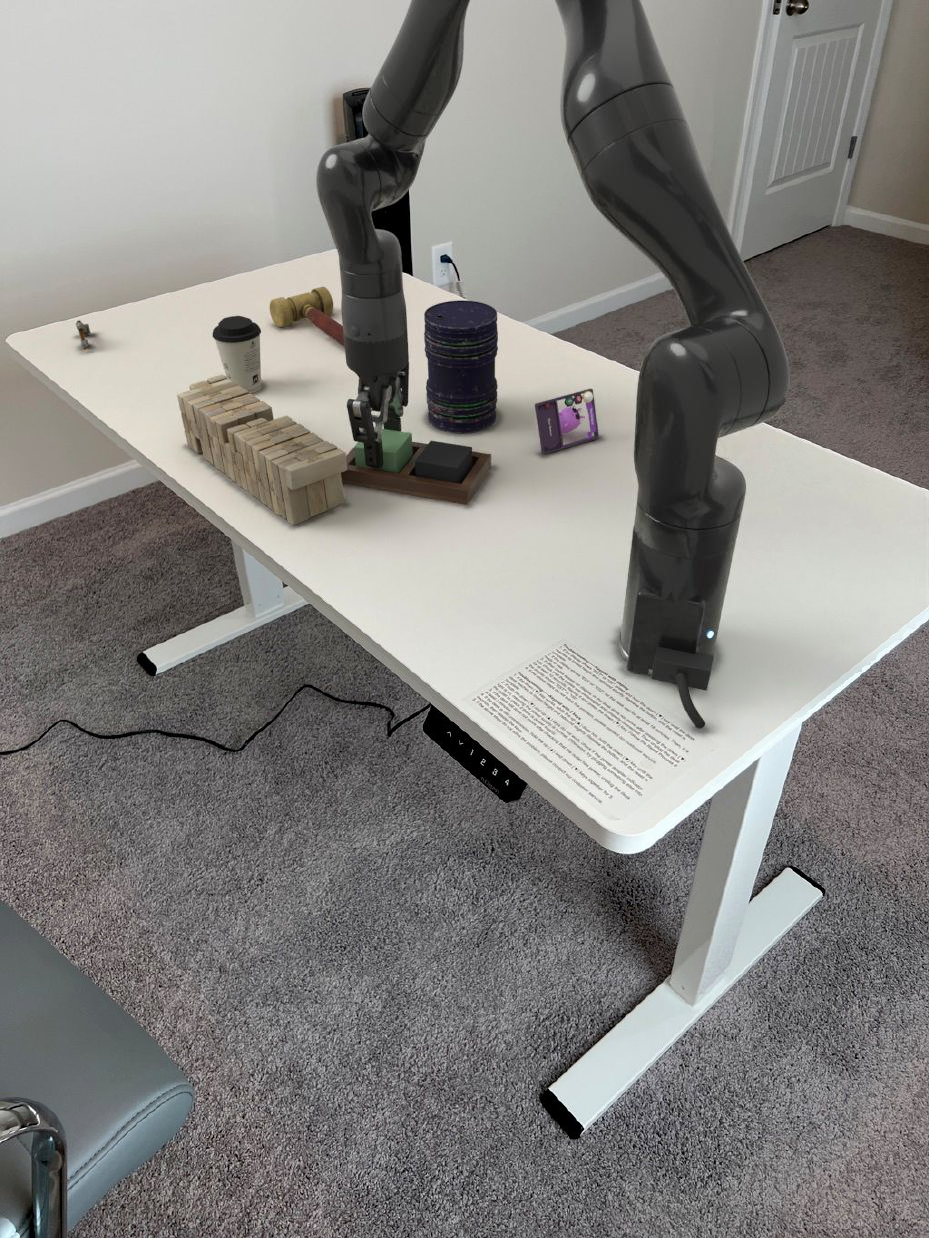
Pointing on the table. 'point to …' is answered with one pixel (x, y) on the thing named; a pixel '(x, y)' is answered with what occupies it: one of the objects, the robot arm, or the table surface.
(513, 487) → the table surface
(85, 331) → the wooden post with brackets
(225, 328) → the coffee cup
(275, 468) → the block tower
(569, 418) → the game card
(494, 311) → the navy oil drum
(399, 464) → the sage pad
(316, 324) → the gavel
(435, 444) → the charcoal pad
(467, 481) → the divided wooden tray
